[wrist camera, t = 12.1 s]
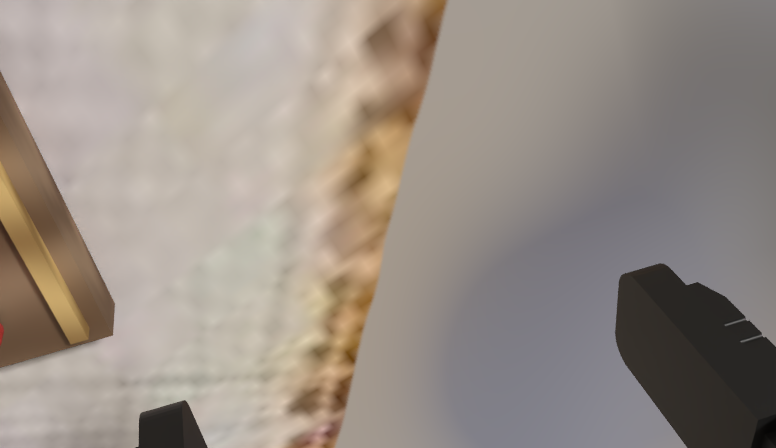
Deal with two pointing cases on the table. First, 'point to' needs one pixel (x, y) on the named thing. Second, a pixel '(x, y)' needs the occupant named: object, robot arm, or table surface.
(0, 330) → the toy fire truck
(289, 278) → the table surface
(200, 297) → the table surface
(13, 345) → the platform
